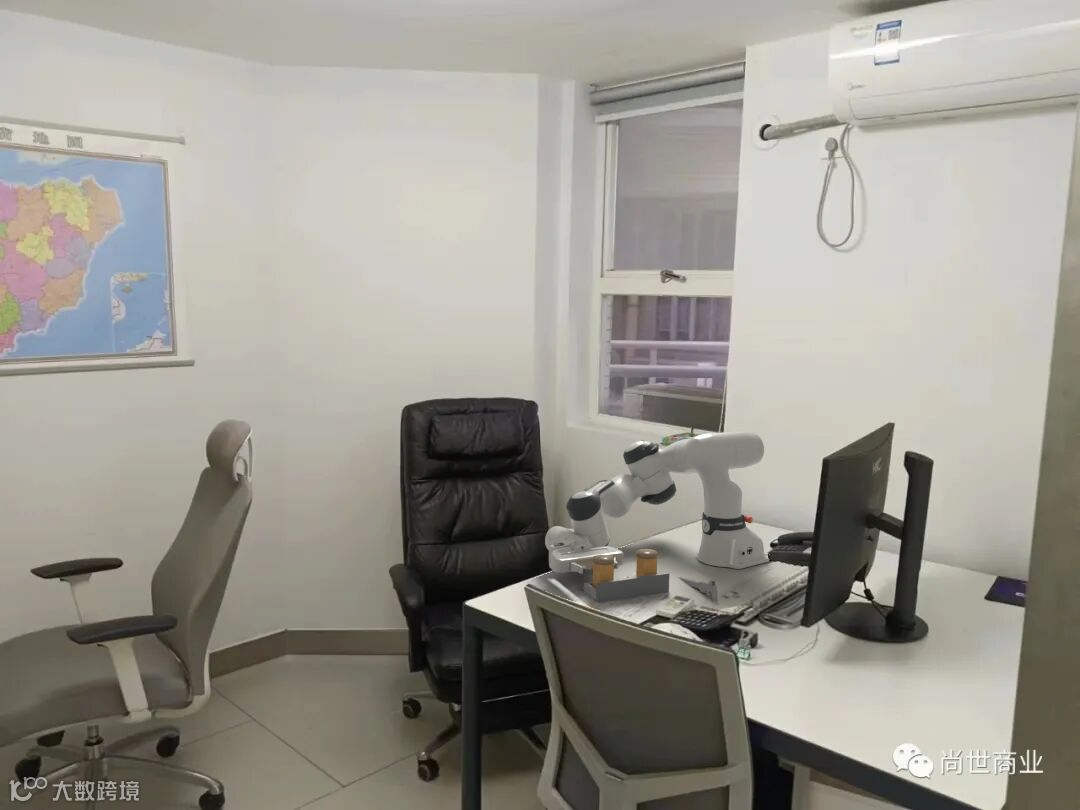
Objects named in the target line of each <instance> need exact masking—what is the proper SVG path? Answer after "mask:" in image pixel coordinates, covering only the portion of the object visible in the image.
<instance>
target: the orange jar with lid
mask: <svg viewBox="0 0 1080 810" xmlns="http://www.w3.org/2000/svg"><path fill="white" fill-rule="evenodd" d="M658 554H659V552H658V551H657V550H656V549H655V550H654V549H651V548H641V549H637V550H636V566H635V567H636V570H635V571H636V574H635V575H636V577H638V576H645V575H652V574H658Z"/></svg>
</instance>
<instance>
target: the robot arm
mask: <svg viewBox="0 0 1080 810" xmlns="http://www.w3.org/2000/svg"><path fill="white" fill-rule="evenodd" d="M659 447H660V444H659V443H658V442H657V443H654V442H651V441H648V440H639V441H636V442H633V443H631V444H630V445H629V446H627V448H626V449H625V450H624V451H623V454H622V456H623V459H624V463H625V465H627V468H628V470H629V472H630V474H629V473H620V474H618V475H615V476H614V477H613V478H611V479H603V480H599V481H596V482H594V483H593V484H591V485H590V486H588V487H586V488H584V489H583V490H581V491H579V492H576V493H574V494H572V495H571V496H570V498H569V499H568V501H567V503H566V506H565V508H566V510H567V513H568V516H569V518H570V522H571V525H572V528H567V527H564V526H561V525H560V526H559V525H555V526H552V527H551V528H549V529H548V531H547V533H546V534H545V539H544V542H545V543H544V544H545V547H546V549H547V550H548V566H549V568H550V569H551V570H552V571H553V572H555V573H557V574H565V573H576V572H577V573H579V574H581V575H582V574H587V570H593V557H594V556H595V555H610V556H613V557H614V570H617V569H619V566H622V565H623V563H624V552H623V551H622V550H620V549H618V548H616V547H613V546H609V543H610V541H611V540H610V535H609V530H608V526H607V523H606V519H605V517H607V518H610V519H621V518H623V517H625V516H626V515H628V514H629V512H630V511H631V510H632V509H633V507H634V505H635V504H636V502H637V500H638V499H640V502H642V503H646V504H647V503H648V504H649V505H654V506H655V505H657V506H658V505H662V504H665V503H668V502H669V501H670V500H671V499H672V498H673V497H674V496H675V495H676V493H677V487H676V484H675V481H674V480H673V479H672V476H671V474H670V473H674V474H681V475H684V474H685V475H687V474H689V475H690V474H697V475H698V476H699V478H700V481H701V484H702V487H703V512H702V517H701V529H702V534H701V538H700V539H701V540H700V541H701V542H700V546H699V550H698V552H697V555H696V559H697V560H698V561H699V562H701V563H703V564H706V565H708V566H709V565H710V566H715V567H723V568H724V567H725V568H731V569H735V570H736V569H737V570H741V569H744V568H748V567H753V566H756V565H761V564H764V563H768V562H770V561H769V559H768V554H769V553H768V552H766V551H765V546H764V542H763V539H762V537H760V536H759V535H758V534H756V533H755V532H754V531H753V530H751V528H749V527H748V526H747V524H746V523H748V524H752V523H753V521H754V518H753V517H752V516H750V515H745V514H743V512H742V509H743V507H742V506H743V504H742V503H743V490H742V488H741V487H740V486H739V485H738V484H737V483H735V482H734V481H732V480H731V479H730V475H729V470H735V469H742V468H743V469H745V468H747V467H751V466H753V465H757V464H758V463H760V462H761V461H762V459H763V458H764V453H765V445H764V443H763V440H762V438H761V437H760V435H759V434H757V433H755V432H749V431H744V430H743V431H741V430H737V431H724V432H713V433H711V432H710V433H703V434H700V435H697V436H693V437H691V438H684V439H681V440H678V441H674V442H672V443H670V444H669V445H667V446H666V447H663V448H659Z"/></svg>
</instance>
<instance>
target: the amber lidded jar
mask: <svg viewBox="0 0 1080 810" xmlns="http://www.w3.org/2000/svg"><path fill="white" fill-rule="evenodd" d="M614 575H615V569H614V557H613V556H610V555H595V556H594V557H593V569H592V581H593V587H594V588H596V583H597V582H604V581H611V580H615V578H614V577H615V576H614Z"/></svg>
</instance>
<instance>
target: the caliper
mask: <svg viewBox="0 0 1080 810" xmlns="http://www.w3.org/2000/svg"><path fill="white" fill-rule="evenodd" d="M677 578H678V579H680V580H682V581H683V582H684V583H686V584H687V585H689V586H690V587H693V588H696V589H699V592H700V593H703V594H704V593H706V596H707V597H708V599H711V600H712V601H714V602H715V601H718V589H717V588H718V587H717V585H716V581H715V580H713V579H710V580H708V582H707V581H696V580H693V579H689V578H686V577H682V576H677Z"/></svg>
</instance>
